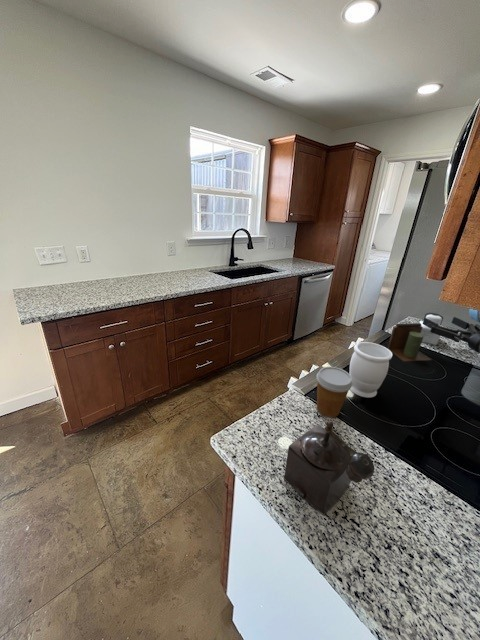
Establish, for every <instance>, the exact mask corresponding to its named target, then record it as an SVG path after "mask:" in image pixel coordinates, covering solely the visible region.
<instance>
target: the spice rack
mask: <svg viewBox="0 0 480 640" xmlns="http://www.w3.org/2000/svg"><path fill="white" fill-rule="evenodd" d="M421 330H422V326H421V323H420V322H413V323H410V322H409V323H396V324H395V326H393V327H392V331H391V334H390V338H389V341H388V344H387V347H386V348H387V349H389V350H390V351H391V352H392V354H394V355H395V356H396V357H398V358H399V359H400V360H401V361H402V362H420V361H421V362H422V361H432V358H430V357H429V356H427V355H426V354H425V353H423V352H422V351H421V350H419V352H418V354H417V357H415V358H412V357H408V356H406V355H404V354H403V351H404V348H405V345H406V342H407V339H408V336H409V333H410V332H418V333H421Z"/></svg>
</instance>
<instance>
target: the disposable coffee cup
mask: <svg viewBox="0 0 480 640" xmlns="http://www.w3.org/2000/svg"><path fill="white" fill-rule="evenodd" d="M316 380H317V388H316V393H317V394H316V395H317V396H316V410H317V412H318V413H319V414H320V415H322V416H324V417H326V418H336V417H338V416H339V414H340V412H341V411H342V408H343V405H344V403H345V400H346V398H347V396H348V393H349V391H350V388H351V387H352V385H353V382H352V378H351V376H350V374H349V373H348V371H346V370H344V369H343V368H340V367H336V366H324V367H322V368H320V369H319V371H318V372H317V373H316Z"/></svg>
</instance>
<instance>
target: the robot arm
mask: <svg viewBox="0 0 480 640" xmlns="http://www.w3.org/2000/svg"><path fill="white" fill-rule="evenodd" d="M468 313H469V314H468V315H469V317H470V318H471V320H474V321H475V322H478V323H479V324H478V323H475V324H473V323H470V322H467V321H465V320H463V319H461V318H458V317H456V316H453V317H452V320H451V324H453V325H454V326H457V327H459V328H460V329H459V328H458V329H454V328H449V327H446V326H443V325H441V326H438V324H437V323H435V322H433V321H431V320H429V319H427V318H424V317H423V319H424V321H423V320H422V321H423V324H424V325H425V326H427V327H429V328H431V331H430V332H431V333H434V334H437V335H440V337H442V338H446V339H448V340H451V341H453V342H456V343H460V341H461V342H464V343H467V346H468V348H469V349H470V350H471V351H474V352H476V353H477V354H480V311H477V310H473V309H469V310H468Z"/></svg>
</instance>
